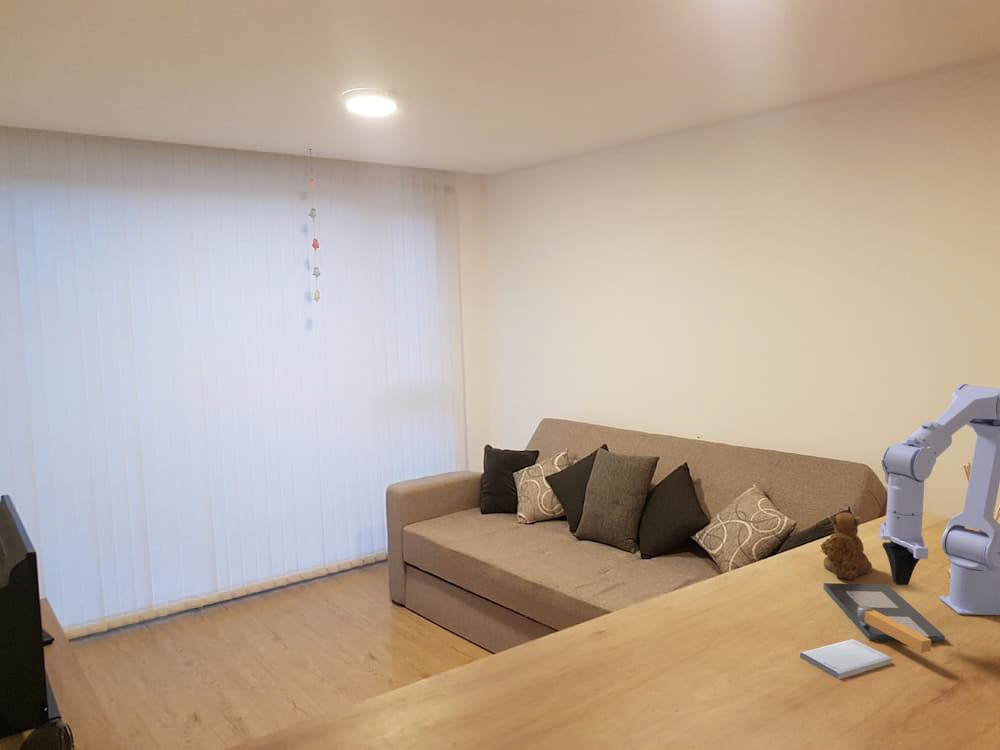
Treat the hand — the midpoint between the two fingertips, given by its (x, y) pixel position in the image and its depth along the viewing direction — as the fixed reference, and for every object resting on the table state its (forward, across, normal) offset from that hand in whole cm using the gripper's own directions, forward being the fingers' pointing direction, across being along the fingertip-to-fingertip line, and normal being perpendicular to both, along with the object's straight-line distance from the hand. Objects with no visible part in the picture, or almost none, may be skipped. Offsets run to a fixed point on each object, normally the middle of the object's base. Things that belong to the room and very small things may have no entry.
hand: (900, 583), depth 138 cm
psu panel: (+9, -8, 0) cm, 13 cm away
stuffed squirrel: (+10, -30, +1) cm, 31 cm away
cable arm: (+7, +6, -4) cm, 10 cm away
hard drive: (+10, +11, -14) cm, 20 cm away
